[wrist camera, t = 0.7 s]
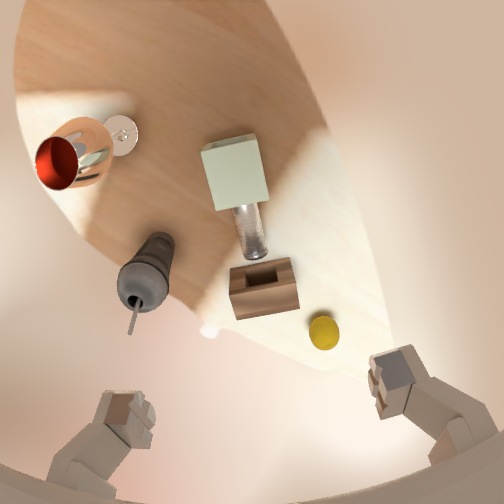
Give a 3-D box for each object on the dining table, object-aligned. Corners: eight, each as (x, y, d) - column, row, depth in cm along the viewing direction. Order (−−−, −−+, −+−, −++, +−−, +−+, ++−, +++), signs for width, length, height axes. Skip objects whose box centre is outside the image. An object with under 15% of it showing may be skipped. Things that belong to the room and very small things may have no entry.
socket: (230, 268, 52) (228, 295, 46) (289, 257, 51) (295, 282, 45) (237, 292, 54) (236, 320, 48) (293, 281, 54) (299, 308, 47)
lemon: (312, 305, 57) (321, 334, 50) (338, 310, 57) (349, 339, 50) (301, 326, 59) (308, 356, 52) (326, 331, 60) (334, 360, 53)
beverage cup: (174, 219, 47) (138, 295, 30) (189, 258, 51) (165, 345, 33) (134, 230, 48) (85, 306, 31) (150, 267, 52) (114, 351, 34)
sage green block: (206, 143, 42) (200, 152, 36) (254, 132, 41) (256, 139, 35) (219, 194, 46) (216, 211, 40) (265, 184, 45) (269, 199, 39)
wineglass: (128, 98, 38) (65, 106, 22) (153, 144, 42) (104, 177, 26) (87, 127, 39) (15, 153, 24) (111, 171, 43) (50, 215, 27)
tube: (218, 149, 41) (216, 154, 37) (244, 143, 40) (244, 148, 37) (243, 250, 48) (243, 262, 45) (266, 245, 48) (268, 257, 45)
